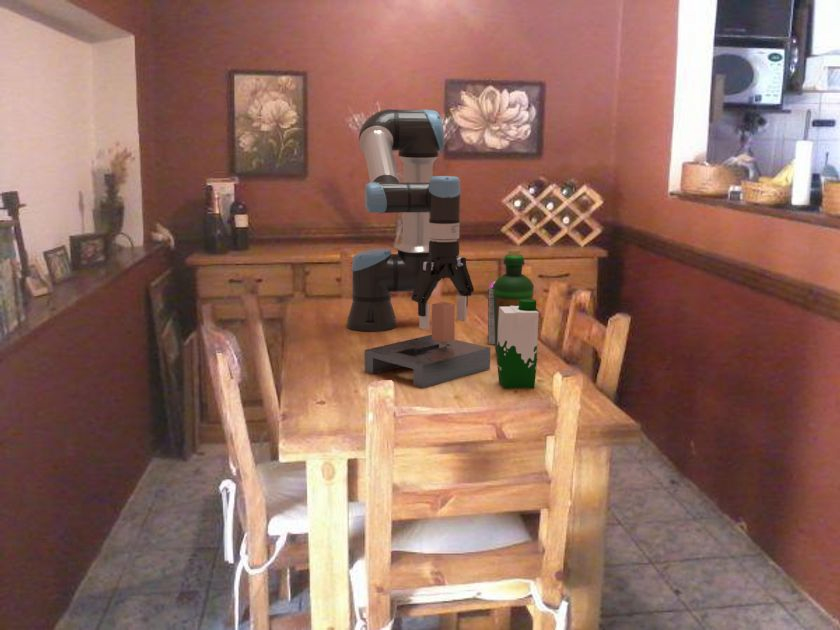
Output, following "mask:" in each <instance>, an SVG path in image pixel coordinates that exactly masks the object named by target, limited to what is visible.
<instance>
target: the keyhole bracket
mask: <svg viewBox="0 0 840 630" xmlns="http://www.w3.org/2000/svg"><path fill="white" fill-rule="evenodd" d="M401 367H404V368H409V369H412V370H413V386H414V387H416V388H420V389H424V388H429V387H432V386H435V385H439V384H442V383H446V382H449V381H453V380H457V379H460V378H462V377H466V376H471V375H474V374H476V373H480V372H483V371H487V370H490V369H491V346H486V345H480V344H476V343H473V342H472V343H471V342H468V341H463V340H458V339H455V338H454V339H453V340H449V341H447V346H446V347H442V348H439V341H437V340H433V339H432V334H429V335H425V336H421V337H420V336H419V337H416V338H415V337H414V338H411V339H406V340H402V341H398V342H394V343H389V344H385V345H380V346H376V347H371V348H368V349H364V372H365V373H367V374H368V373H369V374H371V375H374V374H378V373H381V372H386V371H389V370H394V369H398V368H401Z"/></svg>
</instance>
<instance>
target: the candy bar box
mask: <svg viewBox="0 0 840 630" xmlns="http://www.w3.org/2000/svg"><path fill="white" fill-rule="evenodd" d="M495 282H496V280H492V282H491V283H490V284H489V287H488V288H487V289H488V290H487V291H488V294H487V295H488V296H487V344H488V345H490V346H491V345H492V346H495V325H494V297H493V285H494V283H495Z"/></svg>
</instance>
